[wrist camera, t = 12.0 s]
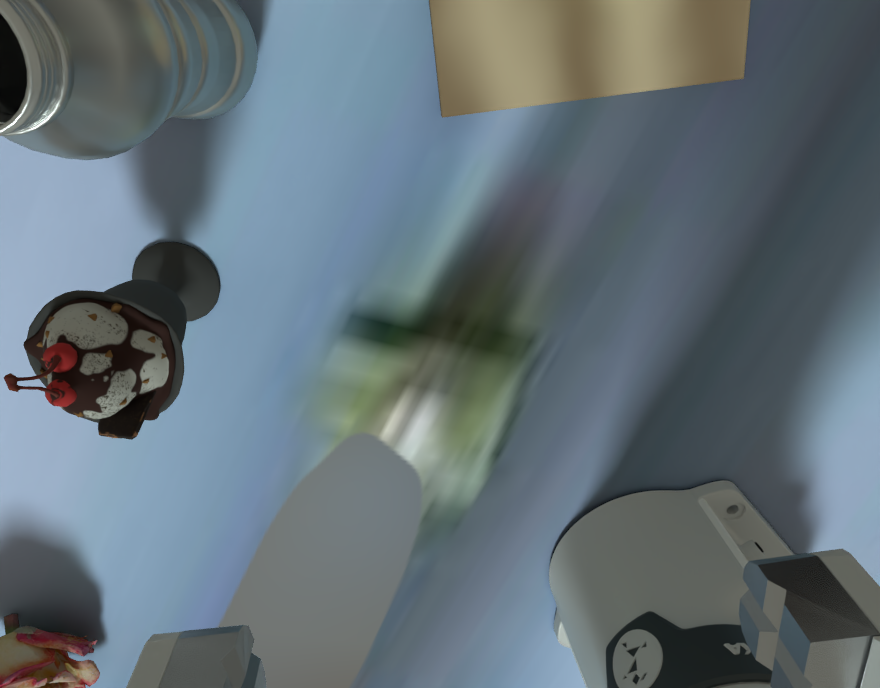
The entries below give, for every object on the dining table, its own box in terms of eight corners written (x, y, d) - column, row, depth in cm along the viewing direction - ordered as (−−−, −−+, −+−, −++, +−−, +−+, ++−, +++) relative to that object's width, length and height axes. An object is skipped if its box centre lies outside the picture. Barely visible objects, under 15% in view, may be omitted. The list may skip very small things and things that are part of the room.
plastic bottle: (234, 138, 34) (54, 252, 16) (109, 65, 32) (-254, 102, 14) (288, 24, 32) (150, 8, 14) (157, -62, 30) (-197, -207, 12)
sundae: (126, 209, 35) (-40, 316, 22) (246, 249, 37) (160, 373, 23) (107, 313, 38) (-52, 466, 24) (220, 347, 39) (129, 509, 26)
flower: (-72, 656, 47) (-69, 774, 43) (-51, 598, 42) (-46, 725, 38) (75, 623, 53) (90, 723, 49) (107, 571, 49) (126, 676, 45)
